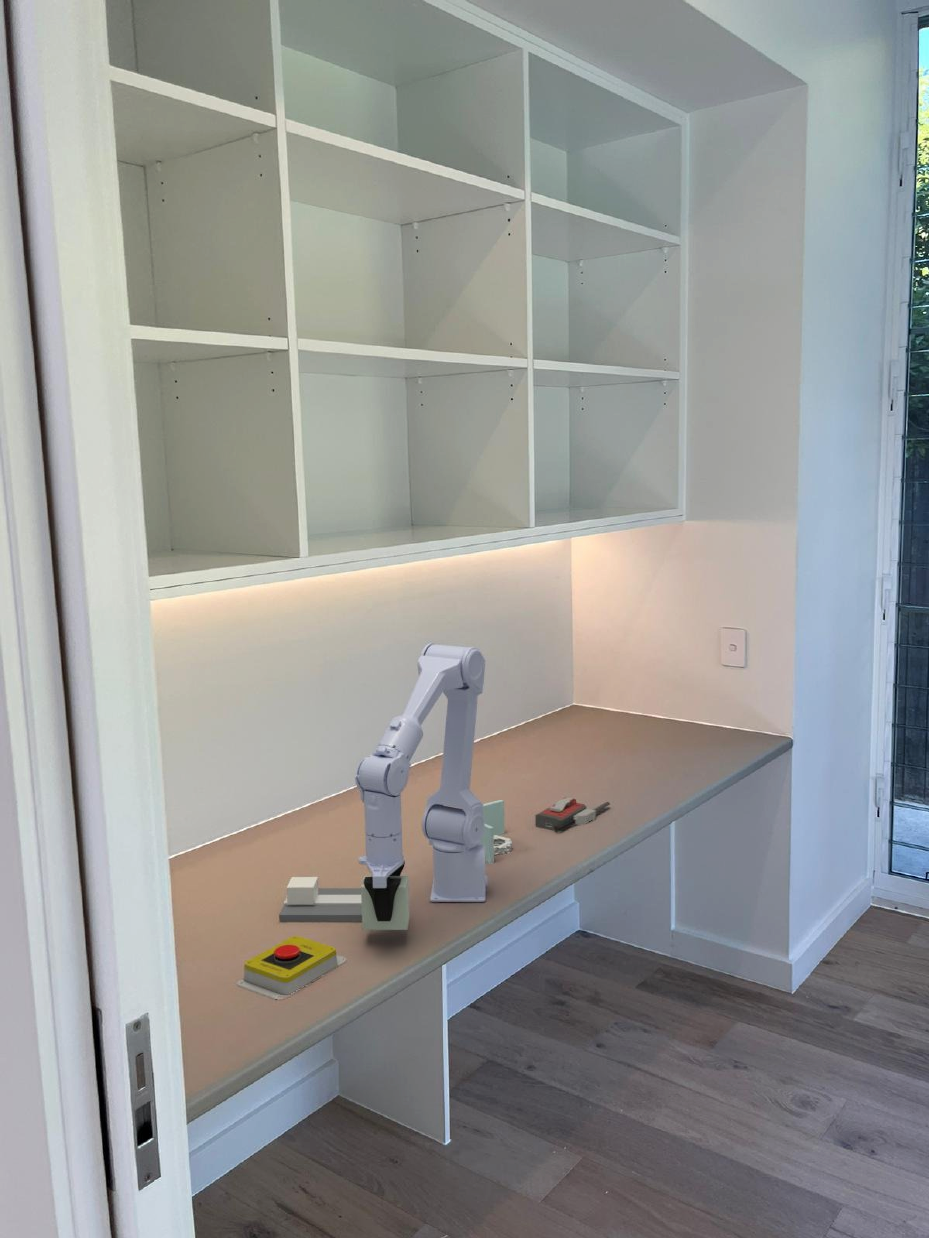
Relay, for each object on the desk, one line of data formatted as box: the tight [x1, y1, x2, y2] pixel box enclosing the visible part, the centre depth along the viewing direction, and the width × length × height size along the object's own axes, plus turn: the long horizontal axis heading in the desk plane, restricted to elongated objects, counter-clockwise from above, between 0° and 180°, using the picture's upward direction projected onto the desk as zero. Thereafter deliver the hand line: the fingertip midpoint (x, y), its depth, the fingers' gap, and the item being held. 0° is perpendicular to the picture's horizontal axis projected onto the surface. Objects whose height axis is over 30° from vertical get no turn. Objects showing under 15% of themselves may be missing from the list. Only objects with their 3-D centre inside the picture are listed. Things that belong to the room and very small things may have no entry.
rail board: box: [278, 876, 362, 923], centre depth 180 cm, size 19×11×5 cm, turn 88°
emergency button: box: [236, 935, 347, 1000], centre depth 158 cm, size 9×4×15 cm
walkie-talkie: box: [534, 796, 611, 833], centre depth 223 cm, size 9×4×20 cm
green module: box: [360, 875, 410, 931], centre depth 167 cm, size 7×4×7 cm, turn 88°
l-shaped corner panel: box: [478, 799, 514, 865], centre depth 207 cm, size 12×12×8 cm
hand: (386, 913), depth 167 cm, fingers closed on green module, 4 cm apart
